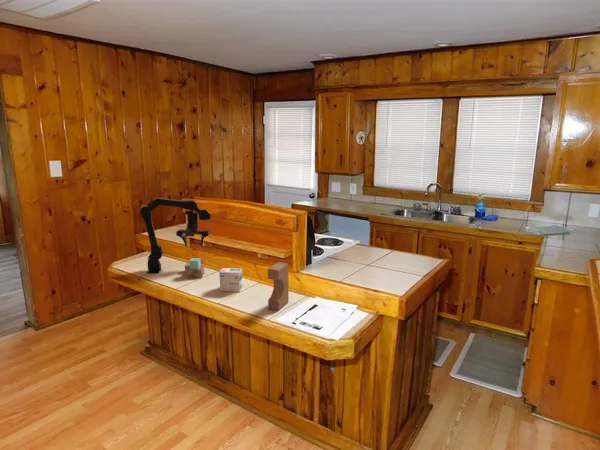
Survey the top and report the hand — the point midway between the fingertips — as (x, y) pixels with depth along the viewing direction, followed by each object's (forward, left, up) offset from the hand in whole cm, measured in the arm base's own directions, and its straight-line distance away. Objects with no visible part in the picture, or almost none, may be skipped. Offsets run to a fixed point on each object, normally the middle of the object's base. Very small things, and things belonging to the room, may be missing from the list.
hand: (194, 246), depth 240 cm
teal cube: (+4, -14, -8) cm, 17 cm away
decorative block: (+54, -52, -13) cm, 76 cm away
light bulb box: (+28, -33, -13) cm, 45 cm away
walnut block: (+4, -14, -13) cm, 20 cm away
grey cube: (-1, -8, -13) cm, 15 cm away
